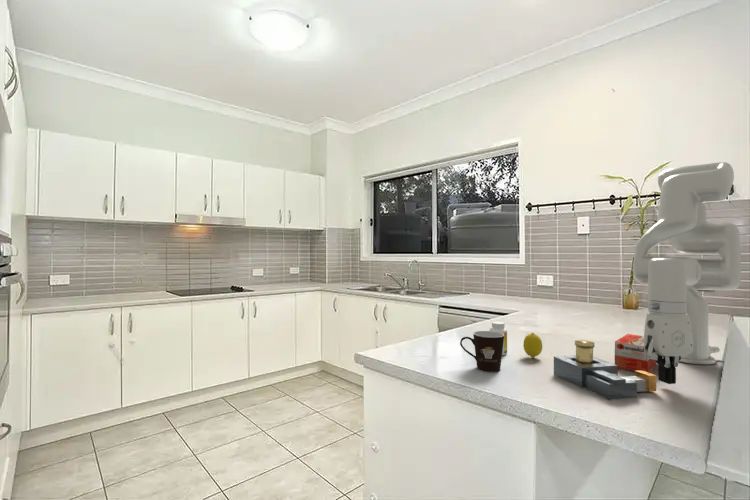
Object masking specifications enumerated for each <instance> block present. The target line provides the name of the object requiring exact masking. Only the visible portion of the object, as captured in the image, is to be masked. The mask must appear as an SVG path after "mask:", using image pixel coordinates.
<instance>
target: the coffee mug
mask: <svg viewBox="0 0 750 500" xmlns="http://www.w3.org/2000/svg"><path fill="white" fill-rule="evenodd" d="M472 335H473V337H472V338H471V337H470V336H463V337H461V339H460V342H459V345H460V347H461V348H462V349H463V351H464V352H466V353H467V354H468V355H469V356H471V357H472V358H474V359H475V361H476V369H477V370H478V371H481V372H484V373H485V372H486V373H497V372H501V366H502V358H503V355H502V350H503V342H504V334H502V333H499V332H494V331H490V330H477V331H474V332H472ZM466 339H467V340H470V341H471V343H472V344H473V346H474V353H475V355H474V354H473V353H472V352H470V351H468V350H467V349H466V348H465V346H463V341H464V340H466Z"/></svg>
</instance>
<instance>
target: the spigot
mask: <svg viewBox="0 0 750 500" xmlns="http://www.w3.org/2000/svg"><path fill="white" fill-rule="evenodd" d="M574 346H575V355H576V362H578V363H581V364H593V357H594V348H595V347H596V346H595V342H594V341H592V340H587V339H575V340H574Z"/></svg>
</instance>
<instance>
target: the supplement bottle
mask: <svg viewBox="0 0 750 500" xmlns="http://www.w3.org/2000/svg"><path fill="white" fill-rule="evenodd" d="M489 331H494V332H499V333H502V334H504V342H503V350H502V356H506V355H507V354H508V329H506V325H505V322H503V321H492V322H491V327H490V328H489Z"/></svg>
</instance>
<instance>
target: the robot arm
mask: <svg viewBox="0 0 750 500" xmlns="http://www.w3.org/2000/svg"><path fill="white" fill-rule="evenodd" d="M734 173H735V172H734V169H733V167H732V165H731V164H730V163H728V162H726V161H725V162H724V161H722V162H721V161H720V162H711V163H705V164H703V163H702V164H695V165H686V166H685V165H684V166H678V167H672V168H668V169H665V170H662V172H660V173H659V174H658V177H657V184H658V188H659V190H660V197H659V198H660V199H659V204H658V205H659V206H658V214H657V215H658V217H657V222H655V224H654V225H653V226H651V227H650V228H649V229H647V231H646V232H644V233H643V235H642V236H641V237H640V238H639V240H638V241H637V243H636V245H635V248H634V255H633V261H632V275H633V278H634V280H636V282H637V283H639V284H643V285H647V286H648V287H647V291H648V292H647V295H648V296H647V299H648V301H647V305H646V307H647V310H648V311H647V313H646V317H645V322H644V330H643V336H644V348H645V350H646V351H647V358H649V359H652V360H655V361H656V364H657V365H656V366H657V367H658V369H657V371H658V372H657V374H658V375H657V380H658V381H659V382H662V383H666V384H668V385H675V384H676V383H677V367H679V363H680V362H681V363H686V364H692V365H714V364H716V358H715V357H713V356H711V354H715V353H716V354H717V353H719V352H720V348H719V346H711V345H710V344H709V337H710V336H709V335H710V334H709V331H710V330H709V327H710V326H709V325H710V323H709V320H710V318H709V311H710V309H709V303H708V301H707V300H706V298H705V297H704V296H703V295H702V294H701V293H699V291H701V290H703V291H704V290H706V291H723V292H724V291H726V292H727V291H736V289H738V288H739V287H740V285H741V281H742V280H741V279H742V256H741V255H742V254H741V234H740V231H739V228H738V226H736V224H734V223H732V222H727V221H726V222H725V221H721V222H720V221H719V222H718V221H717V222H707V221H708V220H707V207H706V205H705V204H704V203H705V202H707V203H709V202H717V201H718V202H719V201H720V202H721V201H724V200H726V199H727V198H728V196H729V195H730V193H731V191H732V186H733V184H734V180H735V179H734V178H735V174H734ZM667 240H671V246H672V250H674V252H676V253H677V254H685V255H686V254H689V255H692V254H693V255H694V254H695V255H717V256H719V258H704V257H698V258H697V257H696V258H695V257H688V256H648V255H649V253H650V251H652V249H653V248H654V247H656V246H657V245H658V244H661V243H663V242H665V241H667Z"/></svg>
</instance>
